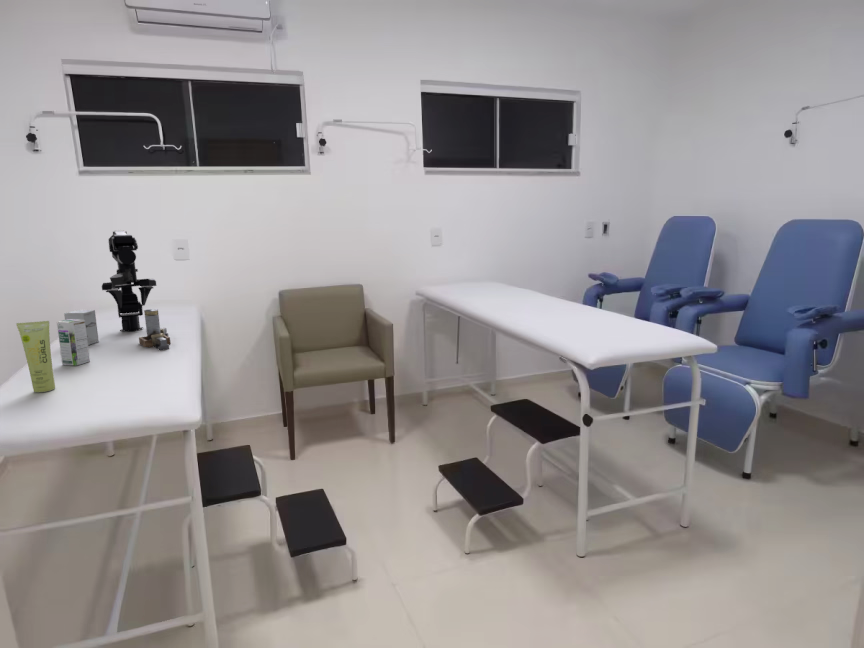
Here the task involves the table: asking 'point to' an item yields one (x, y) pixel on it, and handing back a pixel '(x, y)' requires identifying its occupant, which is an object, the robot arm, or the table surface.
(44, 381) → the tube
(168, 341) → the hollow wooden square frame
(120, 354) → the table surface
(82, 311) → the supplement box
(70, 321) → the syrup box
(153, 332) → the grey cylinder
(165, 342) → the grey and wooden pieces
